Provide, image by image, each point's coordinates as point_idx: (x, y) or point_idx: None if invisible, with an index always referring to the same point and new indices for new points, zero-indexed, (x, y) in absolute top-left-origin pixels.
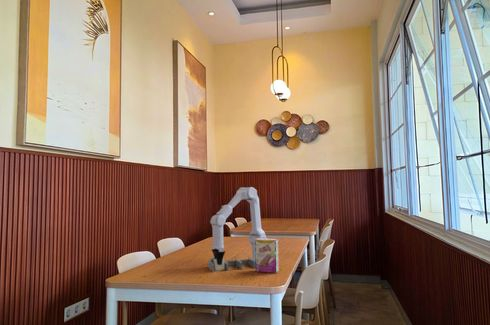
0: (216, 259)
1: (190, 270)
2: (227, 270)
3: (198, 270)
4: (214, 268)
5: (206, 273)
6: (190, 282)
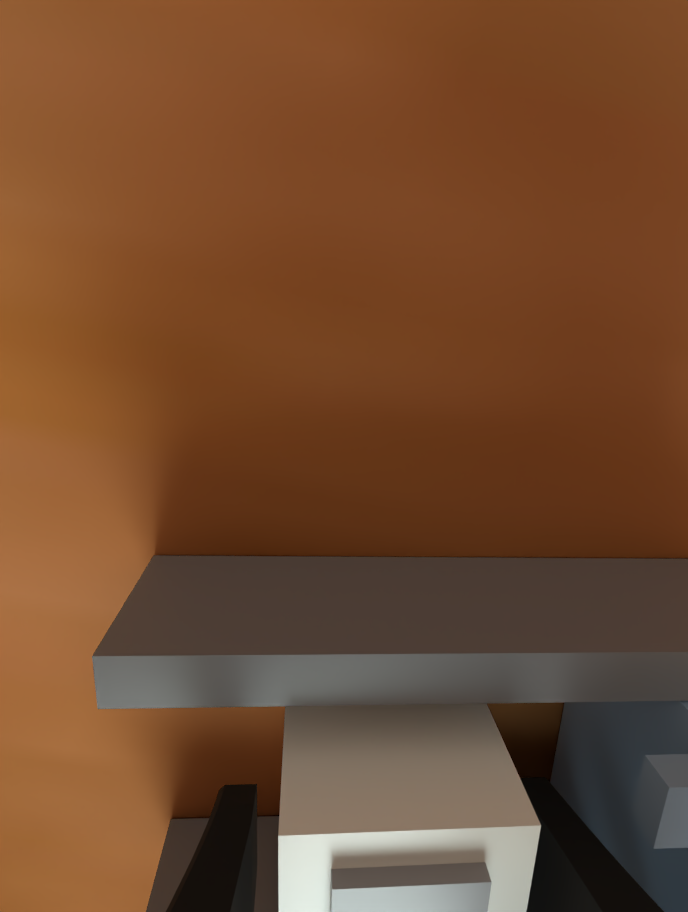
0: (400, 906)
1: (573, 37)
2: (170, 833)
3: (462, 268)
4: None
5: (46, 396)
6: None
